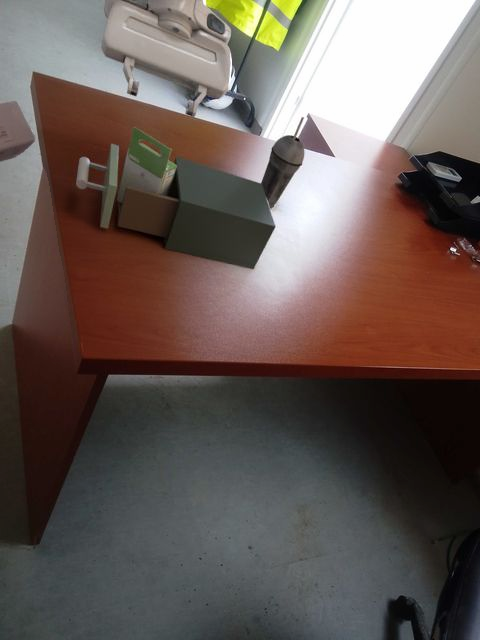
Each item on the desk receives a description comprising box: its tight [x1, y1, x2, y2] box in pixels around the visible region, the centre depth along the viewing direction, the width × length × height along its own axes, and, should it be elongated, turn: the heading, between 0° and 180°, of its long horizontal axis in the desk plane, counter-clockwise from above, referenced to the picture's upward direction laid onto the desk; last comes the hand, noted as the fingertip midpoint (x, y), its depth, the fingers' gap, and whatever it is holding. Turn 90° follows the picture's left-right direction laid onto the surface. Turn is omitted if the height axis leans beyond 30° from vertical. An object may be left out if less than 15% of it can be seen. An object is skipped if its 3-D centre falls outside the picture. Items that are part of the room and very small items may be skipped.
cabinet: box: [163, 156, 276, 270], centre depth 82 cm, size 17×14×10 cm
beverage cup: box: [260, 116, 306, 209], centre depth 97 cm, size 7×7×20 cm
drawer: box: [75, 143, 179, 238], centre depth 77 cm, size 20×13×8 cm, turn 103°
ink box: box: [116, 126, 177, 203], centre depth 74 cm, size 7×4×13 cm, turn 69°
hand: (162, 104), depth 73 cm, fingers open, 8 cm apart
